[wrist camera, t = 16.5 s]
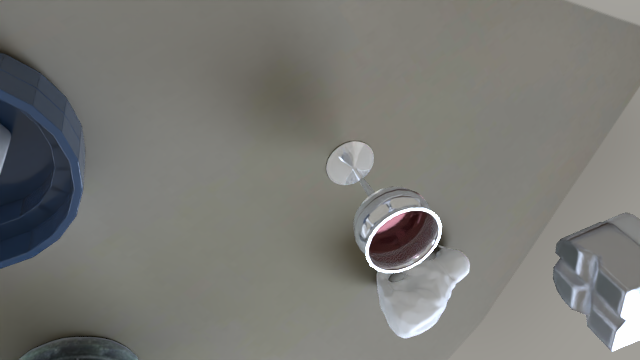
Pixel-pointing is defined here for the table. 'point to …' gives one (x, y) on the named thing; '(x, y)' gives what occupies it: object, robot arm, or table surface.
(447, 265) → the white lumpy figure
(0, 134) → the eye dropper bottle
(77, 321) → the table surface
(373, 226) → the wineglass
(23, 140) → the blue bowl
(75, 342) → the decorative bowl
